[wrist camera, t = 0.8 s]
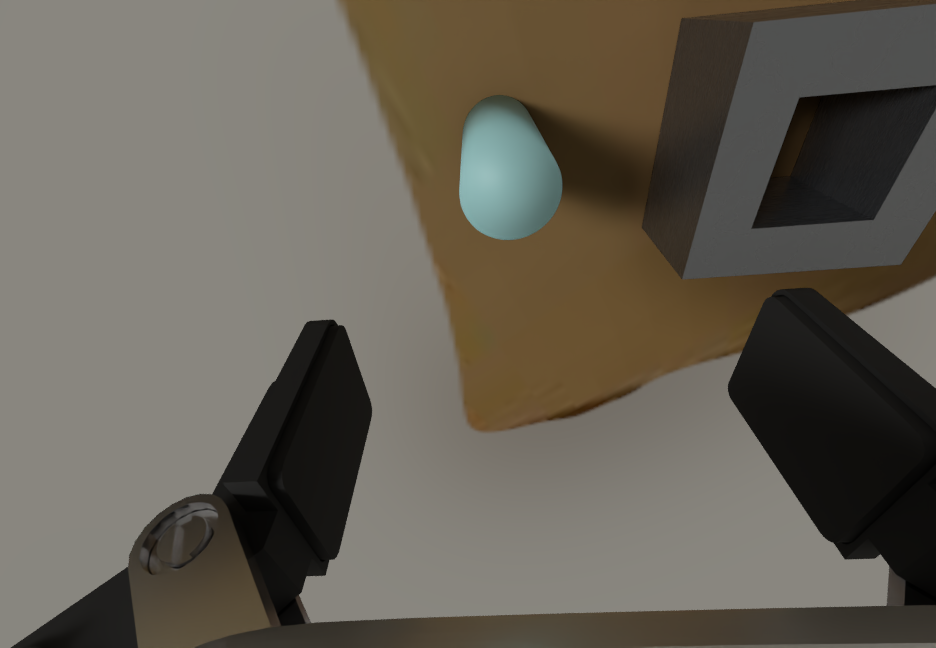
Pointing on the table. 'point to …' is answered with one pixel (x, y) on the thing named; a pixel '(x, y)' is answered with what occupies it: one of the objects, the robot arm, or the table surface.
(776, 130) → the socket
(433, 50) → the table surface
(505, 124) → the plug
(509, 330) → the table surface
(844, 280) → the table surface
